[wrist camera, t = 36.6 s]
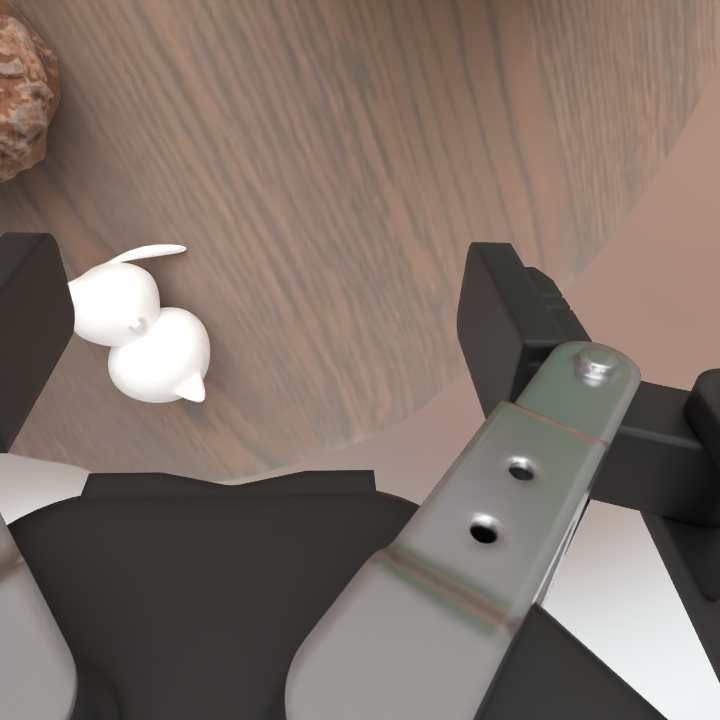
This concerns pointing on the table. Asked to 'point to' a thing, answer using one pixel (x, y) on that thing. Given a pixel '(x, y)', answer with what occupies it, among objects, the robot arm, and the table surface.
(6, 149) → the decorative rock
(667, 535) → the robot arm
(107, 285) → the cat figurine
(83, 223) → the table surface
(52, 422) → the table surface
